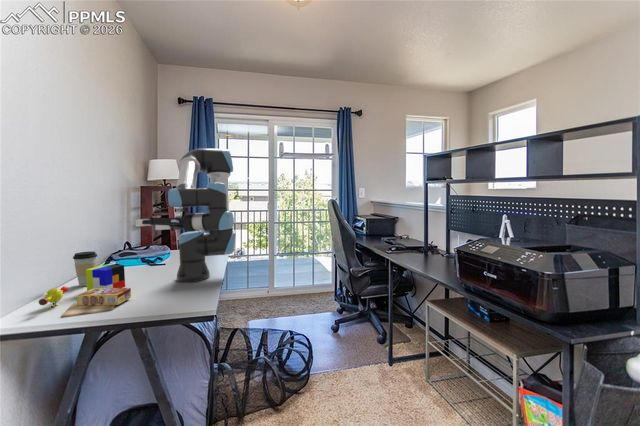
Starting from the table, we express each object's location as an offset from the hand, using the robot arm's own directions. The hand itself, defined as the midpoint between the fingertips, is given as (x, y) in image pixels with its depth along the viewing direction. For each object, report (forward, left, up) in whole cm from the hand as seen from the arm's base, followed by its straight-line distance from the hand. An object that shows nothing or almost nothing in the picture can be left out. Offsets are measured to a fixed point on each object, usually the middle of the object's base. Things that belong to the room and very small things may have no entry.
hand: (146, 225), depth 136 cm
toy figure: (+32, +3, -29) cm, 43 cm away
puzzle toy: (+18, -14, -29) cm, 37 cm away
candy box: (+8, +11, -26) cm, 29 cm away
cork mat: (+18, +12, -29) cm, 36 cm away
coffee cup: (+28, -28, -29) cm, 49 cm away
